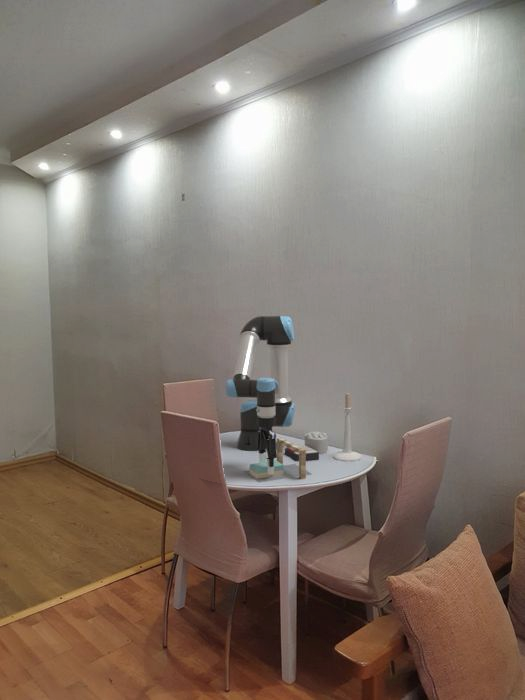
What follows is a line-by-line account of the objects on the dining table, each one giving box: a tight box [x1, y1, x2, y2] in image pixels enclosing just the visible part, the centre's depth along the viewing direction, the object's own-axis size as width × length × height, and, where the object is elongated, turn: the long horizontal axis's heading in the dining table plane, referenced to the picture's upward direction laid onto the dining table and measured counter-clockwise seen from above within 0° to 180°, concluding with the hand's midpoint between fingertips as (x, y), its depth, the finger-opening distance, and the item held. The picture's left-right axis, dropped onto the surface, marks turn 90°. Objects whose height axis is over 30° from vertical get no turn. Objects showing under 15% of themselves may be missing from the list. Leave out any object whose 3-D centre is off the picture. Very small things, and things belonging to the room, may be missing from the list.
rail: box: [276, 437, 307, 480], centre depth 219 cm, size 23×2×12 cm, turn 24°
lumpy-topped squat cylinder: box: [304, 431, 329, 455], centre depth 251 cm, size 10×13×9 cm
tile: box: [249, 460, 285, 479], centre depth 215 cm, size 7×12×4 cm, turn 114°
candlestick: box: [332, 392, 363, 462], centre depth 239 cm, size 13×13×30 cm
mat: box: [243, 463, 313, 483], centre depth 217 cm, size 16×24×1 cm, turn 114°
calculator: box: [284, 445, 320, 462], centre depth 242 cm, size 11×4×15 cm
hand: (266, 471), depth 215 cm, fingers closed on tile, 7 cm apart
